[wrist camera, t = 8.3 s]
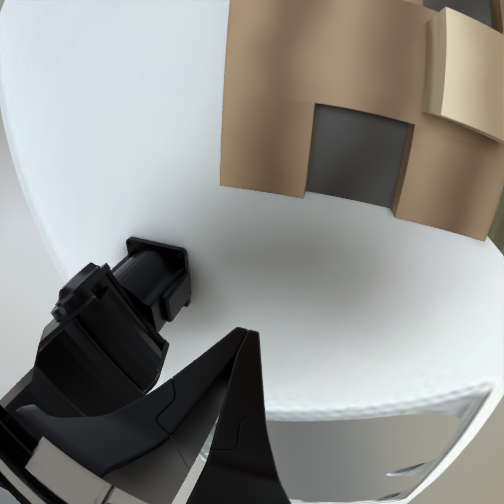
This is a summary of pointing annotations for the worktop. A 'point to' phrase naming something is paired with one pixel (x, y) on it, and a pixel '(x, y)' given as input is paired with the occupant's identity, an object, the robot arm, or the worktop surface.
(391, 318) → the worktop surface
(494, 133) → the birch block
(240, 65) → the board
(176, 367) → the worktop surface
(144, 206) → the worktop surface
